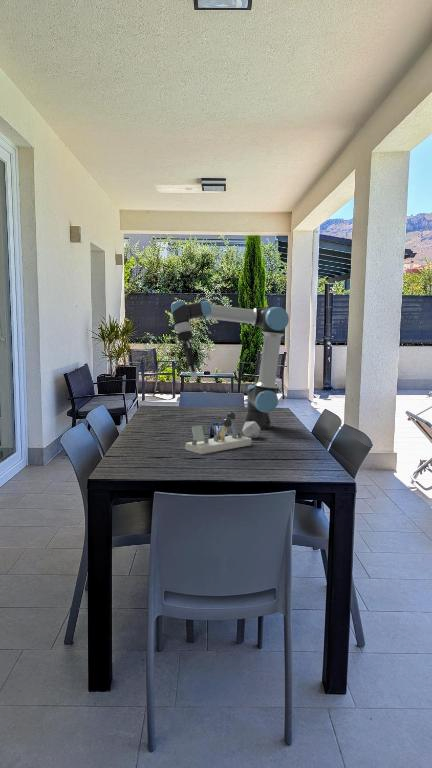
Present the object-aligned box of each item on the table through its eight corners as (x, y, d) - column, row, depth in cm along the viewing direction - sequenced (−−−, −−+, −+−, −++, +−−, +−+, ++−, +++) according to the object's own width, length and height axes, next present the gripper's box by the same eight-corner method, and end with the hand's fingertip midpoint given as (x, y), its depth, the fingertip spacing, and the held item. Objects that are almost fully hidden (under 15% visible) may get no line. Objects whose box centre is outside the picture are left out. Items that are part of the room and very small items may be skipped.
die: (238, 438, 274) (242, 425, 267) (245, 427, 280) (248, 414, 273) (253, 445, 272) (257, 432, 266) (259, 434, 278) (264, 421, 272)
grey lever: (230, 437, 258) (224, 413, 260) (237, 436, 260) (230, 413, 263) (236, 434, 255) (229, 411, 257) (242, 433, 257) (235, 410, 260)
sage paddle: (194, 442, 242) (191, 427, 243) (203, 441, 245) (200, 425, 246) (196, 442, 241) (192, 426, 242) (205, 440, 244) (201, 425, 246)
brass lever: (214, 436, 250) (223, 416, 244) (220, 435, 252) (229, 416, 247) (219, 442, 247) (228, 422, 242) (225, 441, 250) (234, 421, 244)
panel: (185, 449, 245) (185, 437, 244) (235, 440, 264) (235, 429, 264) (200, 454, 237) (201, 441, 236) (251, 444, 256) (251, 433, 256)
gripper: (175, 336, 280) (186, 381, 278) (177, 331, 267) (188, 378, 265) (190, 333, 281) (200, 378, 279) (192, 328, 268) (203, 375, 266)
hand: (194, 378), depth 272 cm, fingers closed
